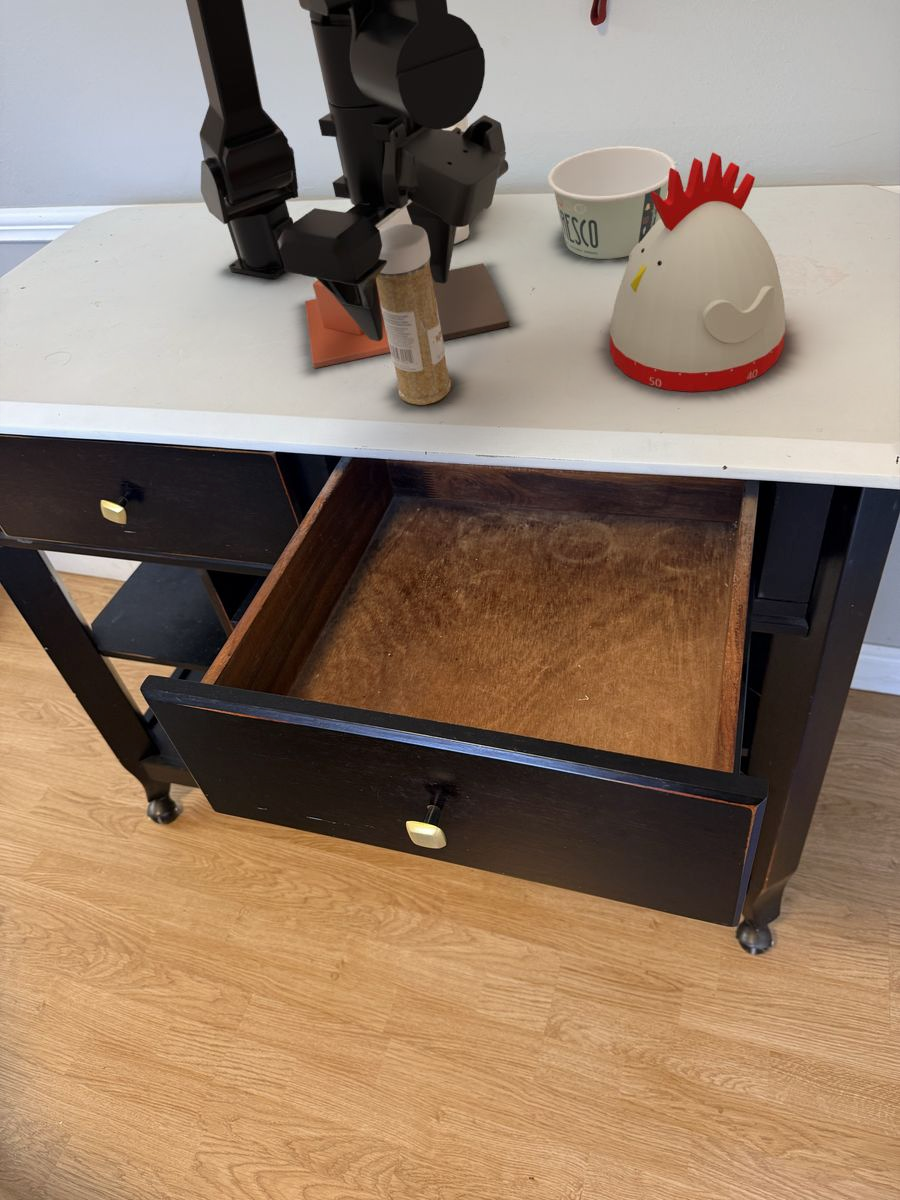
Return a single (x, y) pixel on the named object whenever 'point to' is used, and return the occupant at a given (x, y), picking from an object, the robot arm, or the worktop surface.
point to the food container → (609, 198)
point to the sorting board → (460, 307)
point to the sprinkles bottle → (412, 315)
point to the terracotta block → (335, 311)
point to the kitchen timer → (700, 290)
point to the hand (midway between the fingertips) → (409, 309)
